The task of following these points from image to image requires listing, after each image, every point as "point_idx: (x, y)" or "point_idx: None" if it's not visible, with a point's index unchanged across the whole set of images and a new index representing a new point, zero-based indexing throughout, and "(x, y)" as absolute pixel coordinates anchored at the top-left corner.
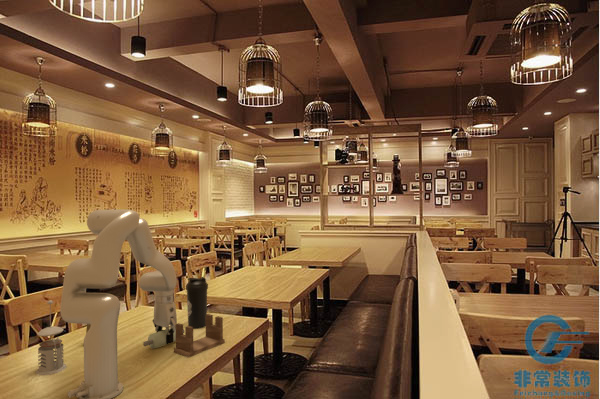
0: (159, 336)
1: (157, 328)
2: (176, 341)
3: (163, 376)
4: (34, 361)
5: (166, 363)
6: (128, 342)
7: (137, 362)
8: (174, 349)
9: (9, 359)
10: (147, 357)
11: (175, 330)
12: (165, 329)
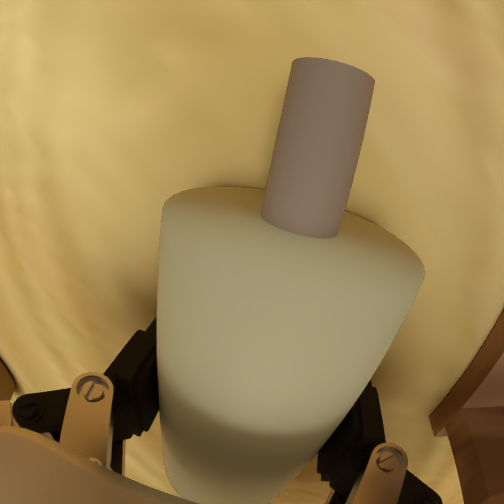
0: (278, 494)
1: (123, 462)
2: (462, 464)
3: (447, 495)
4: None
5: (432, 473)
6: (37, 347)
7: (303, 497)
8: (439, 432)
9: None
10: (310, 477)
11: (364, 374)
12: (210, 449)
